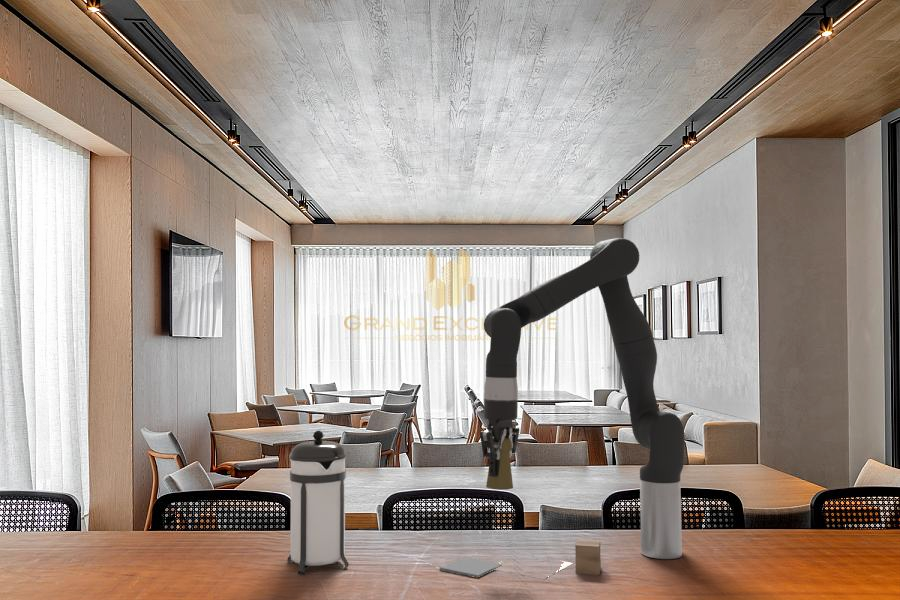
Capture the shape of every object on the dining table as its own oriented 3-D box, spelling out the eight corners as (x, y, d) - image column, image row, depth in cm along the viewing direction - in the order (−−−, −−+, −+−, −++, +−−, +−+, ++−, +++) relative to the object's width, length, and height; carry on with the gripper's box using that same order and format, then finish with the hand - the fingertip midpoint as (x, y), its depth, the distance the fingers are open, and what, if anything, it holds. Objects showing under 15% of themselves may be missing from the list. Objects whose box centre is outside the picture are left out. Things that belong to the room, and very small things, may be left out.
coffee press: (366, 559, 175) (366, 428, 177) (326, 579, 161) (327, 436, 163) (303, 550, 183) (304, 424, 184) (260, 569, 168) (261, 432, 170)
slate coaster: (464, 559, 175) (464, 556, 175) (502, 566, 170) (502, 563, 170) (439, 570, 167) (439, 567, 167) (478, 578, 161) (478, 575, 161)
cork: (511, 490, 166) (512, 439, 167) (484, 488, 167) (485, 438, 168) (514, 485, 172) (515, 436, 173) (488, 483, 173) (488, 435, 174)
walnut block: (577, 566, 170) (577, 539, 170) (600, 568, 168) (600, 540, 169) (575, 573, 165) (575, 545, 165) (599, 575, 164) (598, 546, 164)
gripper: (499, 400, 163) (497, 481, 162) (530, 397, 175) (529, 473, 174) (469, 398, 167) (468, 477, 166) (502, 395, 179) (501, 469, 178)
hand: (499, 474), depth 170 cm, fingers closed on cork, 4 cm apart
